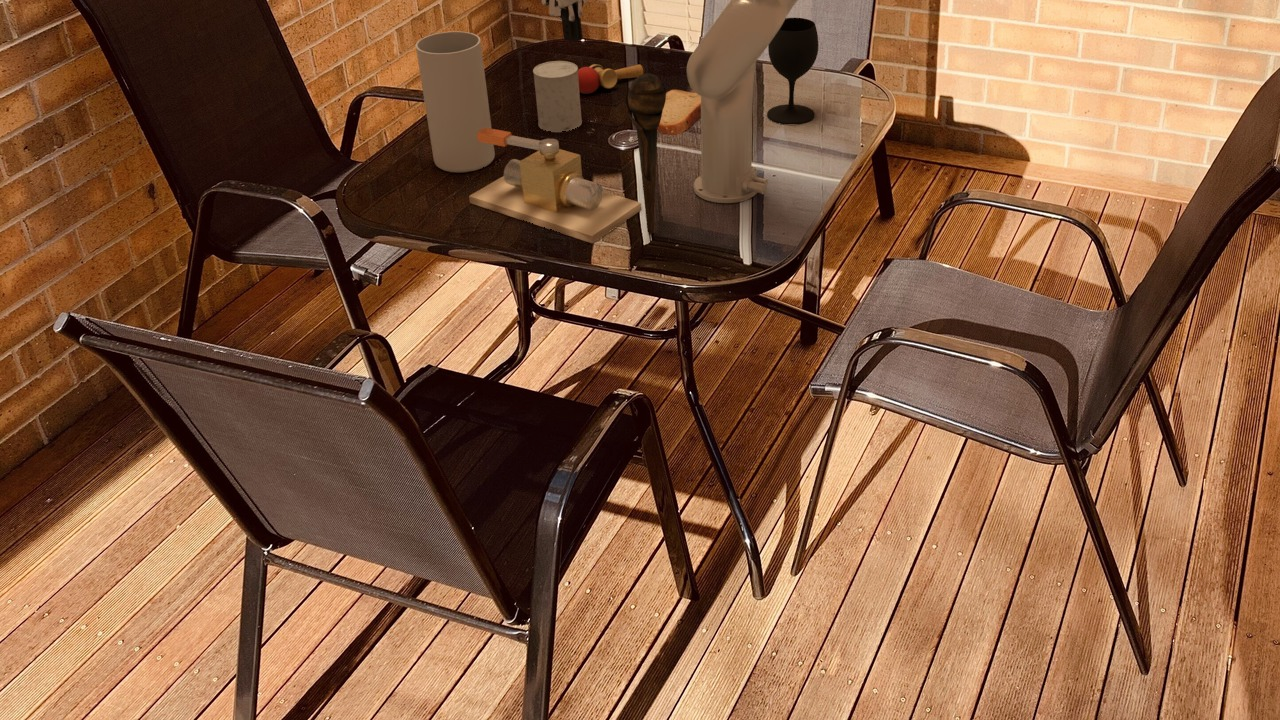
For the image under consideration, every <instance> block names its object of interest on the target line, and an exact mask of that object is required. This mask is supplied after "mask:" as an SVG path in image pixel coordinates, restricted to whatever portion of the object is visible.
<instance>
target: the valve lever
mask: <svg viewBox="0 0 1280 720" xmlns="http://www.w3.org/2000/svg"><path fill="white" fill-rule="evenodd" d="M477 137H478V142H483V143H488V144H493V145H494V146H499V147H504V148H505V147H507V146H509V145H510V146H516V147H519V148H520V147H521V148H525V149H531V150H534V151H535V150H536V151H539V150H540V154H541V155H544V156H552V155H556V154H558V153H559V149H560V145H559V140H558V139H556V138H544V139H541V140H539V139H533V138H528V137H527V138H526V137H521V136H519V135H518V136H516V135H512V132H511V131H505V130H502V129H495V128H492V129H490V128H483V129H482V130H480V131H479V132H477Z"/></svg>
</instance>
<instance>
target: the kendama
mask: <svg viewBox="0 0 1280 720" xmlns="http://www.w3.org/2000/svg"><path fill="white" fill-rule="evenodd" d="M642 74H644V67H643V66H642V65H641V64H635V65H631V66H626V67H622V68H619V69H615V70H614V69H612V68H605V69H604V67H603V66H602V65H601V64H595V63H593V64H591V65H590V66H582V67H581V68H578V81H579V93H581V94H582V95H588V94H592V93H594V92H596V91H597V90H598V89H599V88H600V87H603V88H605V89H613V88H614V87H615V86H616V84H617V83H618V79H619V80H621V79H623V80H624V79H632V78H633V79H634V78H635V79H636V78H637V77H639V76H640V75H642Z"/></svg>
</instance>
